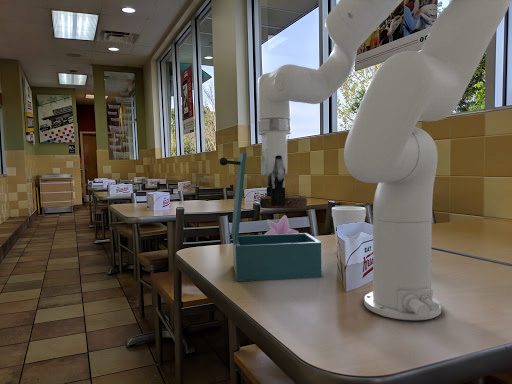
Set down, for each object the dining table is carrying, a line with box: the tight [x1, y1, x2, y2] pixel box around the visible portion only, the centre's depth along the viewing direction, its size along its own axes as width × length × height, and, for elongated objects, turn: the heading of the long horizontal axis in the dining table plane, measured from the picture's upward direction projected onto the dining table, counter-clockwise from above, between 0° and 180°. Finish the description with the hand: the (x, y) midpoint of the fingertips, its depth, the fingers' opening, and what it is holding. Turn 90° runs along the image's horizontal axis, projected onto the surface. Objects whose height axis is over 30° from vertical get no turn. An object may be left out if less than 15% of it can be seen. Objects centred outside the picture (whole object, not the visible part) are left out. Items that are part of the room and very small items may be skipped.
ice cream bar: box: [244, 195, 308, 209], centre depth 90 cm, size 5×15×3 cm, turn 79°
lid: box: [218, 152, 248, 244], centre depth 89 cm, size 20×13×6 cm
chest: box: [232, 232, 323, 282], centre depth 91 cm, size 19×13×8 cm, turn 97°
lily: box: [263, 214, 300, 235], centre depth 116 cm, size 12×12×10 cm
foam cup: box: [331, 205, 367, 245], centre depth 108 cm, size 10×9×13 cm
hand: (275, 203), depth 90 cm, fingers closed on ice cream bar, 6 cm apart
